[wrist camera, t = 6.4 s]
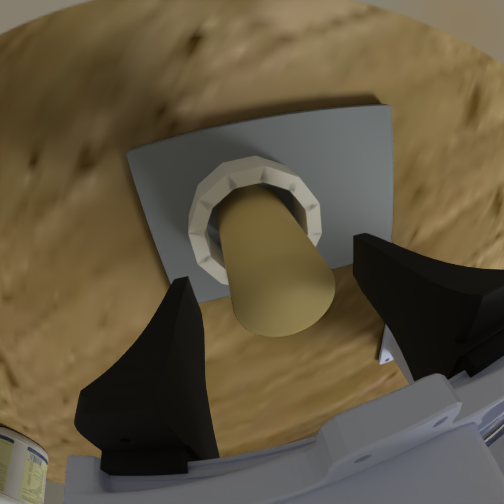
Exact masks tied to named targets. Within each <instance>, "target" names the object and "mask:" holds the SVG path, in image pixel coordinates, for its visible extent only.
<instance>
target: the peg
mask: <svg viewBox="0 0 504 504" xmlns="http://www.w3.org/2000/svg"><path fill="white" fill-rule="evenodd" d="M217 223H218V229H219V234H220V240H221V245H222V251H223V256H224V262H225V267H226V273H227V278H228V283H229V289H230V294H231V299H232V304H233V309H234V313H235V316H236V318H237V320H238V321H239V322H240V324H241V325H242V326H243V327H244V328H246V329H247V330H249V331H250V332H252V333H255V334H258V335H261V336H266V337H282V336H287V335H292V334H295V333H298V332H300V331H302V330H304V329H306V328H308V327H310V326H311V325H313V324H314V323H315V322H317V321H318V320H319V319H320V318H321V317H322V316H323V315H324V314H325V312H326V311H327V310H328V308H329V307H330V305H331V303H332V301H333V298H334V295H335V289H336V283H335V277H334V274H333V272H332V270H331V269H330V267H329V266H328V264H327V263H326V261H325V260H324V259H323V257H322V256H321V254H320V253H319V252H318V250H317V249H316V247H315V246H314V245H313V243H312V242H311V240H310V239H309V238H308V236H307V235H306V233H305V232H304V231H303V229H302V228H301V227H300V225H299V224H298V223H297V221H296V220H295V218H294V217H293V216H292V214H291V213H290V212H289V210H288V209H287V208H286V206H285V205H284V204H283V202H282V201H281V200H280V198H279V197H278V196H277V194H276V193H275V192H274V191H272V190H271V189H270V188H268V187H266V186H263V185H260V184H253V185H248V186H244V187H239V188H235V189H233V190H232V191H231V192H230V193H229V194H228V195H227V196H225V197H224V198H223V199H222V201H221V202H220V204H219V207H218V210H217Z"/></svg>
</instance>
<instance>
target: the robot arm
mask: <svg viewBox="0 0 504 504" xmlns="http://www.w3.org/2000/svg"><path fill="white" fill-rule="evenodd" d="M353 275H354V277H355V279H356V281H357V283H358V285H359V286H360V288H361V290H362V292H363V293H364V294H365V296H366V297H367V299H368V300H369V301H370V303H371V304H372V306H373V307H374V308H375V310H376V311H377V312H378V314H379V315H380V317H381V318H382V319H383V321H384V322H385V323H386V324H385V329H384V335H383V340H382V345H381V350H380V355H379V360H378V362H379V364H384V363H386V362H389V361H391V360H395V362H396V363H397V365H398V367H399V368H400V370H401V371H402V373H403V375H404V376H405V378H406V380H407V381H408V383H409V385H406V386H404V387H402V388H400V389H398V390H395V391H393V392H391V393H388V394H386V395H384V396H381V397H379V398H376V399H374V400H371V401H369V402H366V403H364V404H361V405H358V406H356V407H353V408H351V409H349V410H346V411H344V412H342V413H340V414H338V415H336V416H334V417H333V418H332V419H330V420H329V421H327V422H326V423H325V424H323V426H322V427H321V429H320V431H319V433H318V434H317V436H314V437H311V438H308V439H304V440H301V441H297V442H293V443H289V444H286V445H282V446H278V447H273V448H269V449H265V450H260V451H255V452H250V453H245V454H240V455H235V456H229V457H222V458H220V456H219V452H218V448H217V444H216V439H215V435H214V430H213V425H212V420H211V414H210V409H209V403H208V396H207V390H206V381H205V344H204V327H203V320H202V313H201V310H200V307H199V305H198V302H197V299H196V297H195V294H194V291H193V288H192V286H191V283H190V280H189V277H188V276H186V277H181V278H177V279H174V280H173V282H172V284H171V285H170V287H169V289H168V291H167V293H166V295H165V297H164V299H163V300H162V302H161V304H160V306H159V307H158V309H157V311H156V313H155V314H154V316H153V317H152V319H151V321H150V322H149V324H148V325H147V327H146V328H145V330H144V331H143V332H142V334H141V335H140V336H139V338H138V339H137V340H136V341H135V343H134V344H133V345H132V346H131V347H130V348H129V349H128V350H127V351H126V353H125V354H124V355H123V356H122V357H121V358H120V359H119V360H118V361H117V362H116V363H115V364H114V365H113V366H112V367H111V368H109V369H108V370H107V371H106V372H105V373H104V374H102V375H101V376H100V377H99V378H97V379H96V380H95V381H93V382H92V383H91V384H89V385H88V386H87V387H85V388H84V389H82V390H81V391H80V395H79V399H78V404H77V409H76V414H75V419H74V425H75V427H76V429H77V430H78V432H79V433H80V434H81V435H82V436H83V437H85V438H86V439H87V440H88V441H90V442H91V443H92V444H94V445H95V446H96V447H97V448H99V449H100V450H101V451H102V455H101V459H100V458H98V457H95V456H83V455H68V460H67V467H66V476H65V486H64V499H63V504H504V427H503V428H502V429H501V430H500V431H499V432H498V433H496V434H495V435H494V436H493V437H492V438H490V439H489V440H488V441H487V442H486V443H485V442H484V440H486V439H487V438H488V437H489V436H490V435H492V434H493V433H494V432H495V431H496V430H497V429H499V428H500V427H501V426H502V425H503V424H504V270H499V269H481V268H472V267H466V266H460V265H455V264H450V263H446V262H442V261H439V260H436V259H432V258H429V257H426V256H423V255H420V254H418V253H415V252H412V251H410V250H407V249H405V248H402V247H400V246H398V245H395V244H393V243H391V242H388V241H386V240H384V239H381V238H379V237H376V236H374V235H371V234H368V233H361V234H357V235H353Z"/></svg>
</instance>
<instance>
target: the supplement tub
mask: <svg viewBox="0 0 504 504" xmlns="http://www.w3.org/2000/svg"><path fill="white" fill-rule="evenodd" d="M47 465H48V456H47V454H46V452H45V451H44V450H43V448H41V447H40V446H39V445H38V444H36V443H35V442H33V441H32V440H30V439H29V438H27V437H25V436H23V435H21V434H19V433H17V432H15V431H12V430H10V429H7V428H4V427H0V504H43V503H44V491H45V481H46V473H47Z"/></svg>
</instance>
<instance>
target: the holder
mask: <svg viewBox="0 0 504 504" xmlns="http://www.w3.org/2000/svg"><path fill="white" fill-rule="evenodd" d="M126 156H127V160H128V163H129V166H130V170H131V173H132V176H133V179H134V183H135V186H136V189H137V192H138V195H139V198H140V201H141V204H142V207H143V210H144V213H145V216H146V219H147V222H148V225H149V228H150V230H151V233H152V236H153V239H154V242H155V244H156V247H157V250H158V252H159V255H160V258H161V260H162V263H163V266H164V268H165V271H166V273H167V276H168V278H169V281H170V283H171V284H172V282H173V280H174V279H177V278H181V277H186V276H188V277H189V280H190V283H191V286H192V288H193V291H194V294H195V297H196V299H197V302H198V303H201V302H205V301H210V300H214V299H218V298H222V297H226V296H231V294H230V289H229V283H228V278H227V273H226V267H225V262H224V256H223V251H222V245H221V240H220V234H219V229H218V223H217V210H218V207H219V204H220V202H221V201H222V199H223V198H224V197H225V196H227V195H228V194H229V193H230V192H231V191H232V190H233V189H235V188H239V187H244V186H248V185H253V184H260V185H263V186H266V187H268V188H270V189H271V190H272V191H274V192H275V193H276V194H277V196H278V197H279V198H280V200H281V201H282V202H283V204H284V205H285V206H286V208H287V209H288V210H289V212H290V213H291V214H292V216H293V217H294V218H295V220H296V221H297V223H298V224H299V225H300V227H301V228H302V229H303V231H304V232H305V233H306V235H307V236H308V238H309V239H310V240H311V242H312V243H313V245H314V246H315V247H316V249H317V250H318V252H319V253H320V254H321V256H322V257H323V259H324V260H325V261H326V263H327V264H328V266H329V267H330V269H331V270H332V269H335V268H339V267H343V266H346V265H350V264H353V235H357V234H361V233H368V234H371V235H374V236H376V237H379V238H381V239H384V240H386V241H388V242H391V236H392V217H393V135H392V118H391V105H387V104H367V105H353V106H340V107H330V108H321V109H312V110H304V111H296V112H289V113H283V114H276V115H270V116H264V117H258V118H253V119H247V120H242V121H237V122H232V123H227V124H223V125H218V126H214V127H209V128H205V129H201V130H197V131H193V132H189V133H185V134H181V135H177V136H173V137H170V138H166V139H163V140H159V141H156V142H152V143H149V144H146V145H142V146H139V147H136V148H133V149H130V150H128V151H127V152H126Z"/></svg>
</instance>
